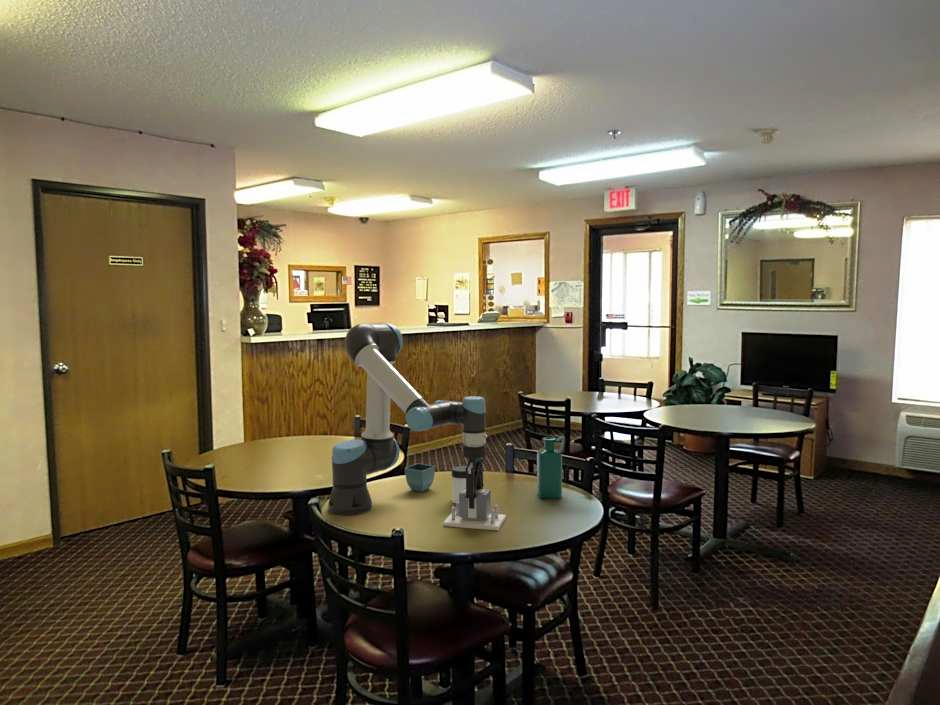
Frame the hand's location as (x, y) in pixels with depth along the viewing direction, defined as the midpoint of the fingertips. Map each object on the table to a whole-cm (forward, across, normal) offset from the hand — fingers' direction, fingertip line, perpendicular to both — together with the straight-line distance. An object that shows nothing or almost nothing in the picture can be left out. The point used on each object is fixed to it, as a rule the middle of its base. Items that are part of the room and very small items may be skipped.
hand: (475, 514), depth 211 cm
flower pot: (+3, +31, +30) cm, 43 cm away
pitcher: (+3, +35, -20) cm, 40 cm away
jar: (+3, +21, +10) cm, 23 cm away
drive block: (0, 0, 0) cm, 0 cm away
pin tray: (+3, 0, 0) cm, 3 cm away
